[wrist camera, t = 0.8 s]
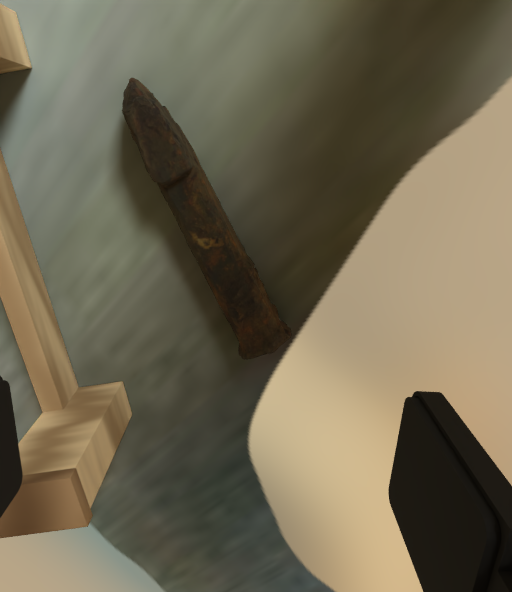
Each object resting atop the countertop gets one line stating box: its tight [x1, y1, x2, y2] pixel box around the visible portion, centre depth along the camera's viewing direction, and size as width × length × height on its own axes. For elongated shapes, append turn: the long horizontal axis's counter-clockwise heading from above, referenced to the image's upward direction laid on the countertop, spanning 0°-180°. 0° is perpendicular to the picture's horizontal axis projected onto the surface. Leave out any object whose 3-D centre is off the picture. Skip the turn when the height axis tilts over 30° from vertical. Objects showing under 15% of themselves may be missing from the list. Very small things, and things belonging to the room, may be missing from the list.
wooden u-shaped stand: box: [0, 4, 132, 538], centre depth 26 cm, size 5×28×11 cm, turn 9°
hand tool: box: [122, 78, 291, 359], centre depth 28 cm, size 19×4×5 cm, turn 23°
